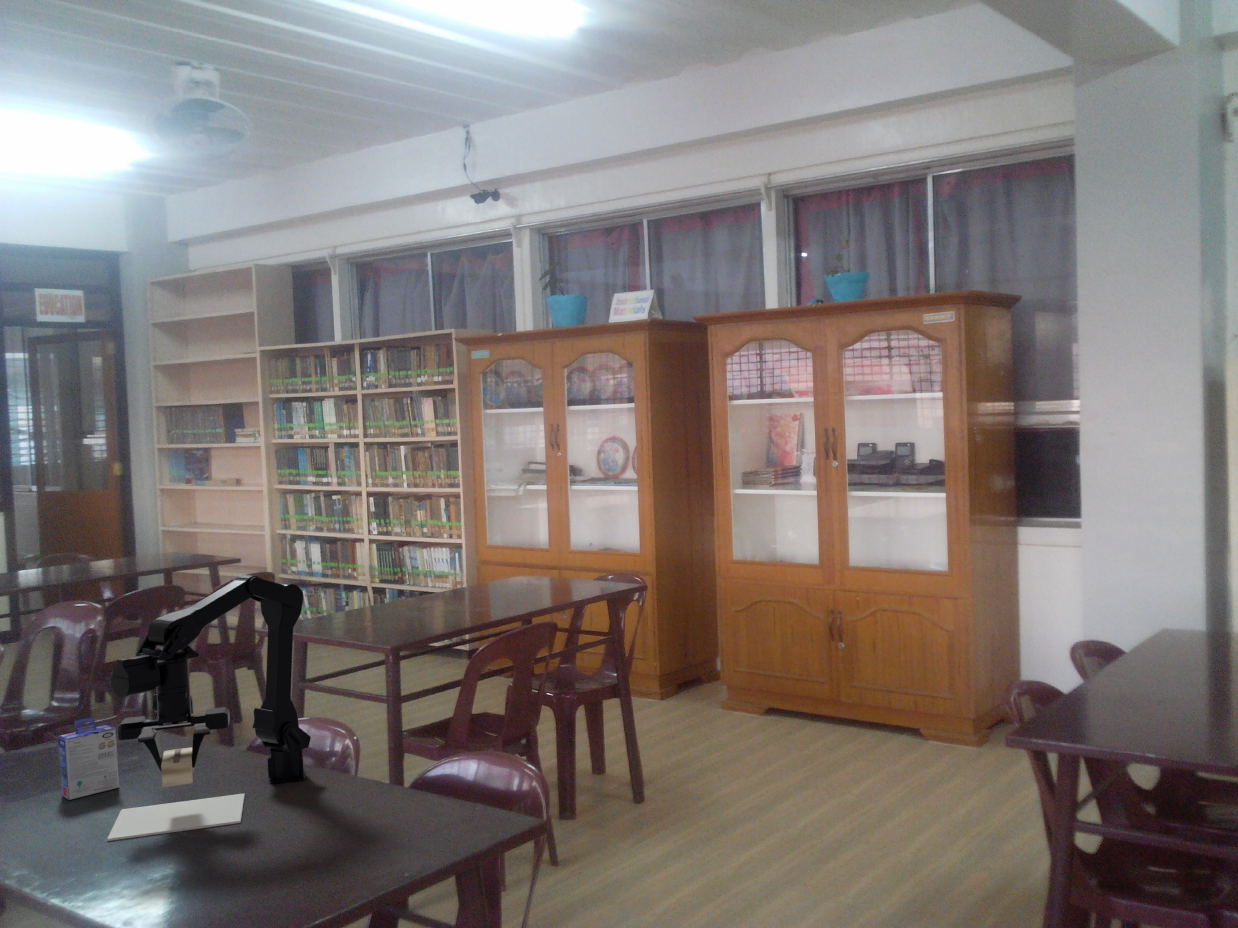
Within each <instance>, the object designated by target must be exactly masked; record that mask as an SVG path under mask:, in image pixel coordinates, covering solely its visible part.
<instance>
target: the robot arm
mask: <svg viewBox="0 0 1238 928" xmlns="http://www.w3.org/2000/svg"><path fill="white" fill-rule="evenodd" d="M248 600H251V601H252V600H253V601H256V602H258V603H260V611H261V615H262V617H263V619H264V622H265V624H266V625H267V646H266V647H267V649H266V676H265V677H266V678H265V698H264V701H263V703H262V704H261V706H260V707H255V708H254V710H253V719H254V720H253V724H252V729H254V731H255V732H254V733H255V735H256V737H257V738H258V739H259V740H260V741H261V743H262V746H263V748H265V749H266V748H267V749H269V750H270V751H269V752H270V753H269V754H268V755H267V773H268V779H269V780H270V784H278V783H279V784H280V783H286V782H294V781H295V782H297V781H304V780H305V778H306V777H305V770H306V769H305V768H304V767H305V766H304V750H305V749H307V748H309V746H310V743H311V739H312V738H311V736H310V735H309V733H307V732H306V731H304V730H303V729H302V728H301V727H300V724H299V714H298V711H297V709H296V707H295V704H294V703H293V700H292V676H293V675H292V674H293V673H292V672H293V670H292V669H293V648H294V647H293V646H294V645H293V643H294V627H295V625H296V623H297V621H298V620H299V618H300V617H301V615H302V608H303V604H304V592H303V590H302V589H301V588H300V587H299V586H298V585H297V584H295V583H284V582H283V583H280V582H275V581H270V580H268V579H267V580H266V579H264V578H261V577H259V576H258V575H248V574H247V575H246V574H242V575H238V576H237V577H235V579H234V580H232V581H231V582H229V583H227V585H225V586H223V587H222V588H219V589H218V590H217V591H215V592H213V593H210V595H208V596H206V597H204V598H202V599H201V600H200V601H199V602H196V603H195V604H193V605H191V606H190V607H187V608H185V609H181V610H177V611H174V612H170V613H167V614H165V615H162V616H160V617H157V618H155V619H153V620H152V621H151V622H150V623H149V625H148V631H147V634H146V636H145V638H144V639H143V641H142V643H141V645H140V646H139V648H138V650H137V652H136V654H135V656H134V657H126V658H125V657H122V658H118V659H117V660H116V666H115V667H114V669H113V672H112V673H111V677H110V682H111V688H112V690H113V692H114V694H115V696H117V697H118V698H120V699H124V698H128V697H132V696H137V695H140V694H144V693H148V692H153V691H154V690H155V691H156V693H155V694H152V711H153V712H155V713H157V719H151V720H146V717H145V715H141V716H131V717H125V718H124V719H122V721H121V722H120V724H119V725H118V728H117V735H118V736H117V737H118V740H119V741H126V740H127V741H128V740H136V739H137V743H138V744H139V743H143V744H144V745H145V747H146V748H147V749H148V750H149V752H150V754H151V756H152V757H153V759H154V761H155V763H156V766H157V768H158V769H159V771H160V772H161V763H162V758H163V753H162V749H161V741H160V731H161V730H172V729H177V728H179V729H180V728H188V727H194V730H193V733H192V746H191V747H192V768H194V769H195V767H196V764H197V760H198V757H199V752H200V749H201V748H200V747H201V745H202V743H203V740H204V738H205V737H206V736H208V735H210V734H211V733H212V731H213V730H221V729H227V728H229V726H230V722H231V718H230V717H231V714H230V709H229V708H228V707H226V706H222V707H214V708H207V709H206V710H205V714H197V715H193V714H194V702H193V697H192V695H191V687H190V686H191V685H190V669H189V667H190V666H189V660H190V659H193V658H199V656H200V653H199V652H198V651H197V650H196V651H195V650H194V649H193V648H192V647H191V645H190V644H192V643H193V642H194V641H195V640H196V639H197V638H198V637H199V636H200V634H201V633H202V631H203V629H204V628H206V627H207V626H208V625H209V624H211V623H213V622H214V621H216V620H217V619H219V618H220V617H222V616H224V615H226V614H227V613H229V612H230V611H232V610H233V609H235V608H237V607H238V606H240V605H241V604H243V603H245V602H246V601H248Z"/></svg>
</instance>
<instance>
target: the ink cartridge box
mask: <svg viewBox="0 0 1238 928" xmlns="http://www.w3.org/2000/svg"><path fill="white" fill-rule="evenodd" d="M73 723H74V728H75V729H74V730H75V732H70V733H65V734H62V735H57V745H58V746H57V747H58V757H59V758H58V759H59V769H60V783H61V796H62V797H64V798H66V800H68V801H70V800H71V801H72V800H74V799H75V800H76V799H78V798H83V797H87V796H90V795H94V794H99V793H102V792H103V793H104V792H107V791H111V790H113V789H114V790H115V789H119V788H120V777H119V764H118V762H119V761H118V747H117V745H118V744H117V732H116V731H117V730H116V728H115V727H113V726H111V725H109V724H105V725H99V726H96V724H95V720H94V718H93V717H87V718H83V719H78V720H77V719H76V720H74V721H73ZM82 723H90V724H88V725H83V726H79V725H81V724H82Z"/></svg>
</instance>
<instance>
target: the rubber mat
mask: <svg viewBox="0 0 1238 928" xmlns="http://www.w3.org/2000/svg"><path fill="white" fill-rule="evenodd" d="M245 796H246V793H237V794H230V795H229V794H228V795H222V796H221V795H220V796H214V797H206V798H200V799H199V798H198V799H191V800H183V801H176V802H168V803H161V804H160V803H159V804H153V805H147V806H146V805H145V806H138V807H130V808H122V809H120V812H119V814H118V816H117V818H116V820H115V823H114V824H113V826H112V828H111V830H110V832H109V834H108V835H107V838H106V842H113V841H118V840H127V839H132V838H140V837H148V836H149V837H150V836H154V835H162V834H170V833H175V832H177V833H178V832H183V831H185V832H186V831H191V830H199V829H206V828H213V827H220V826H229V825H235V824H241V822H242V817H243V816H242V815H243V809H244V803H245Z"/></svg>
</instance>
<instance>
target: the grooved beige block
mask: <svg viewBox="0 0 1238 928" xmlns="http://www.w3.org/2000/svg"><path fill="white" fill-rule="evenodd" d="M192 747H193V746H191V747H184V748H183V747H182V748H175V749H174V748H173V749H168V750H163V753H162V757H163V758H162V763H161V771H160V773H161V785H162V786H161V788H168V787H175V786H183V785H189V784H193V778H194V769H195V768H192Z"/></svg>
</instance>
